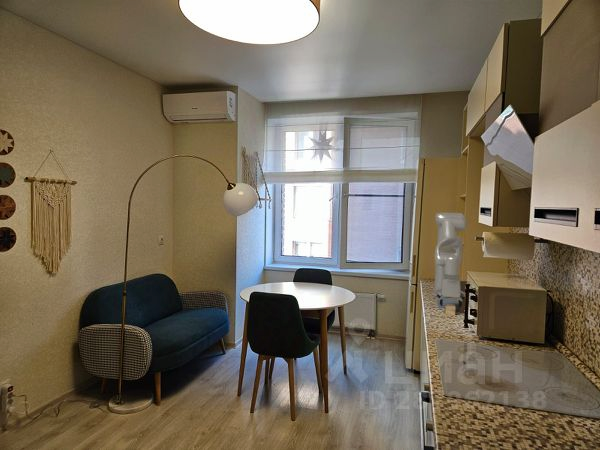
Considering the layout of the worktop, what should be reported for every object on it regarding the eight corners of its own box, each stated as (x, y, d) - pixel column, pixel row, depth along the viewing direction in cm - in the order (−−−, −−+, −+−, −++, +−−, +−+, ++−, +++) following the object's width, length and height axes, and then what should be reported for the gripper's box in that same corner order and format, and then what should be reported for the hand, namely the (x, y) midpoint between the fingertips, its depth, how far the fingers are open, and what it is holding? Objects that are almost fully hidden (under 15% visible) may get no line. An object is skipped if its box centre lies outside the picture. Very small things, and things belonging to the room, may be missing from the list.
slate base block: (436, 303, 237) (437, 297, 237) (457, 305, 234) (457, 299, 234) (438, 308, 226) (438, 302, 226) (459, 310, 222) (459, 304, 222)
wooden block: (474, 311, 220) (476, 281, 219) (476, 313, 215) (477, 283, 214) (458, 310, 222) (459, 280, 221) (459, 312, 218) (460, 282, 217)
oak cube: (445, 312, 218) (445, 303, 217) (454, 313, 216) (454, 304, 216) (445, 314, 213) (446, 306, 213) (455, 315, 211) (455, 307, 211)
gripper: (467, 277, 214) (465, 306, 215) (435, 275, 219) (434, 303, 220) (468, 279, 207) (467, 309, 208) (436, 277, 212) (434, 306, 213)
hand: (450, 306), depth 214 cm, fingers open, 9 cm apart
